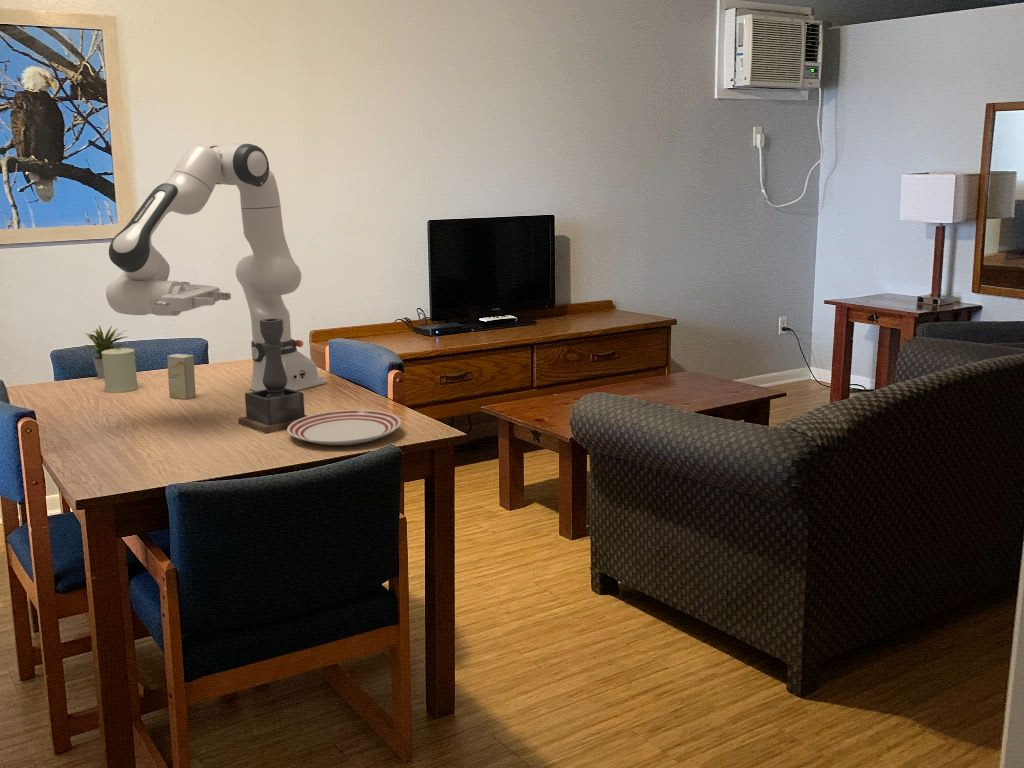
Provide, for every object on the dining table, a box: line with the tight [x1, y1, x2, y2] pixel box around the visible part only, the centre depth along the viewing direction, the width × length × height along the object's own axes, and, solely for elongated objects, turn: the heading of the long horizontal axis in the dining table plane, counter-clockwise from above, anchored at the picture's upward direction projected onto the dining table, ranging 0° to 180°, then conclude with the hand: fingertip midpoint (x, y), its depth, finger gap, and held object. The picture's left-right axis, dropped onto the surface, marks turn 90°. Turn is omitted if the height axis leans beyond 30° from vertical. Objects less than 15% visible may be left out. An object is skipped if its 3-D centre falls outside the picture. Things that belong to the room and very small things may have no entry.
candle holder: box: [260, 318, 287, 399], centre depth 256 cm, size 6×6×25 cm
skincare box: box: [166, 353, 196, 400], centre depth 286 cm, size 6×4×12 cm
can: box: [101, 347, 139, 393], centre depth 297 cm, size 9×9×12 cm
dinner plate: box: [286, 409, 402, 446], centre depth 246 cm, size 27×27×3 cm
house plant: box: [83, 324, 129, 379], centre depth 313 cm, size 14×14×16 cm
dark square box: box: [237, 388, 308, 434], centre depth 257 cm, size 14×13×8 cm
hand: (222, 298), depth 253 cm, fingers open, 8 cm apart
